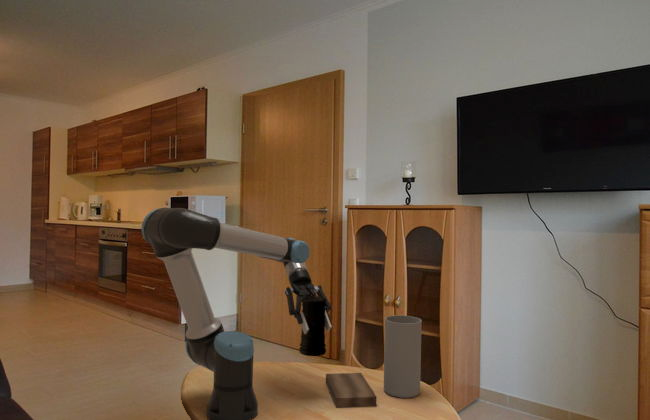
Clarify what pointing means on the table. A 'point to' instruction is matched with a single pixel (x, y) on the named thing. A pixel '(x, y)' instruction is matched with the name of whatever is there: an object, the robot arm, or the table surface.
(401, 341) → the cylinder vase
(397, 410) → the table surface
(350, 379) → the shelf board
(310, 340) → the container
